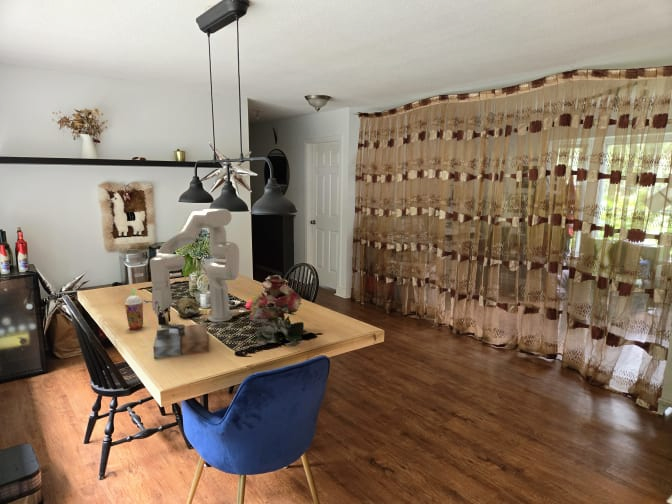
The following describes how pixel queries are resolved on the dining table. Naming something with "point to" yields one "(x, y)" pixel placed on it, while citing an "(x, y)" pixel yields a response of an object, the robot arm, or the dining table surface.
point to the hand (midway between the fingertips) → (164, 322)
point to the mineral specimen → (187, 307)
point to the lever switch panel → (180, 341)
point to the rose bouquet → (276, 312)
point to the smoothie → (134, 311)
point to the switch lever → (171, 326)
